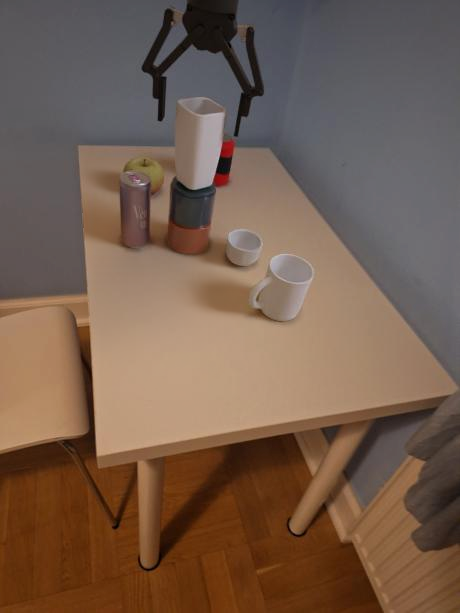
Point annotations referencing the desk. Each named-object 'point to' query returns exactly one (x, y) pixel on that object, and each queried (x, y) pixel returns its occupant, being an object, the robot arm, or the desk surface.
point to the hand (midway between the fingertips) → (198, 126)
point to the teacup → (243, 247)
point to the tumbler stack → (190, 217)
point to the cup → (198, 140)
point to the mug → (283, 287)
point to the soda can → (224, 161)
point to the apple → (147, 171)
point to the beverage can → (135, 208)
